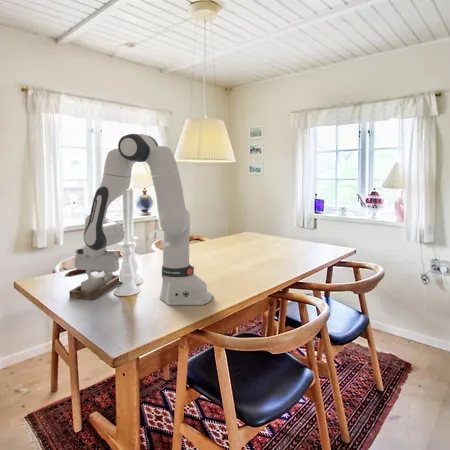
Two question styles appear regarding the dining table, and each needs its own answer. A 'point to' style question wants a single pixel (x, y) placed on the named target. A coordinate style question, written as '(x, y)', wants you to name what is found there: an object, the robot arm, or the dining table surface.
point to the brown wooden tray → (96, 293)
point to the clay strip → (95, 281)
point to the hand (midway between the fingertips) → (97, 279)
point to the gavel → (75, 272)
